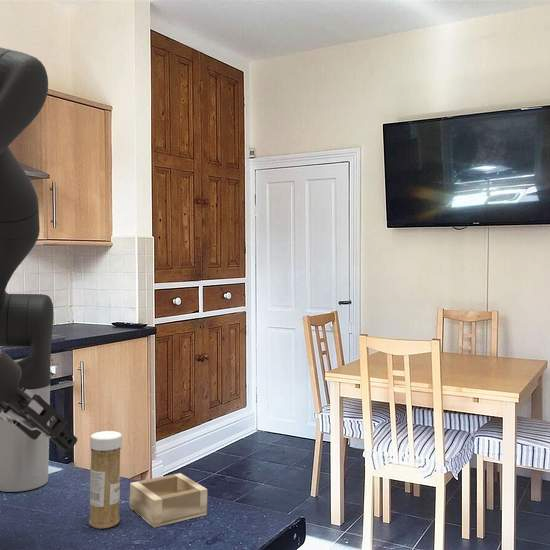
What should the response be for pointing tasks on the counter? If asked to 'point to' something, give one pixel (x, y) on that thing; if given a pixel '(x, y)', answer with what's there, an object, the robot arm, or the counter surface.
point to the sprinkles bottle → (105, 479)
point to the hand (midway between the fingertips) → (54, 439)
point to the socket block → (168, 499)
